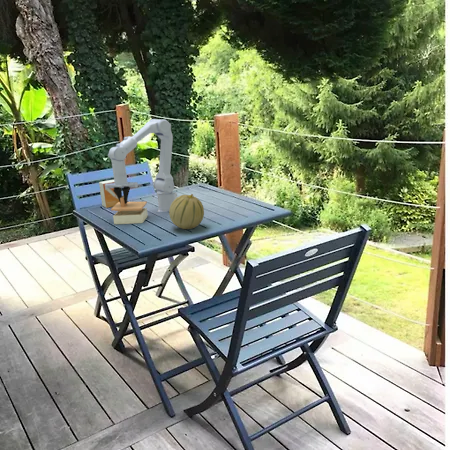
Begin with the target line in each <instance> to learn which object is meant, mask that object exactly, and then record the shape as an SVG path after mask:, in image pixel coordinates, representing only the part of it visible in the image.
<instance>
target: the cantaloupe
mask: <svg viewBox="0 0 450 450" xmlns="http://www.w3.org/2000/svg"><path fill="white" fill-rule="evenodd" d="M204 209H205V208H204V205H203V203H202V201H201V200H200V199H199V198H198V197H197V196H195V195H194V194H193V193H192V194H182V195H180V196H177V198H176V199H175V200H174V201H173V202H172V204H171V206H170V209H169V211H168V212H169V213H168V215H169V217H170V220H171V223H173V225H175V226H177V228H180V229H182V230H191V229H194V228H196V227H198V226H199V225H200V224H201V223H202V221H203V219H204V217H205V216H204V215H205V210H204Z"/></svg>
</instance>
